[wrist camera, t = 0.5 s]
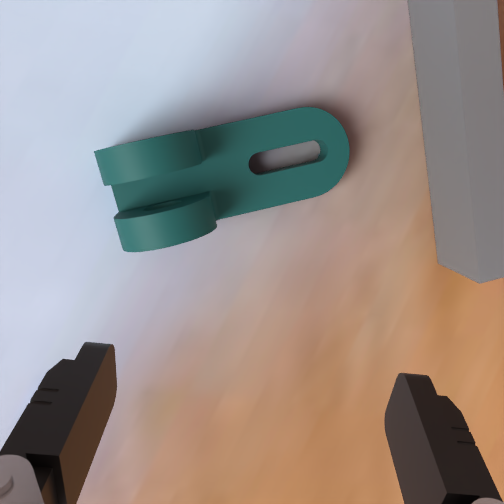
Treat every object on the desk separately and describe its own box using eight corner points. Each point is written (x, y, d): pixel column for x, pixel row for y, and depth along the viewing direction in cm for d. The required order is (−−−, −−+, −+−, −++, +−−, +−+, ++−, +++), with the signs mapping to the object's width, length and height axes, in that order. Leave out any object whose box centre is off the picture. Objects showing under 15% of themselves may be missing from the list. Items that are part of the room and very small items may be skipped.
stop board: (403, -37, 34) (446, -73, 29) (440, -45, 35) (491, -82, 29) (438, 263, 41) (479, 283, 35) (469, 255, 41) (516, 274, 35)
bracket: (131, 235, 37) (115, 259, 29) (106, 150, 35) (84, 152, 27) (346, 184, 38) (385, 195, 30) (332, 101, 36) (370, 90, 29)
